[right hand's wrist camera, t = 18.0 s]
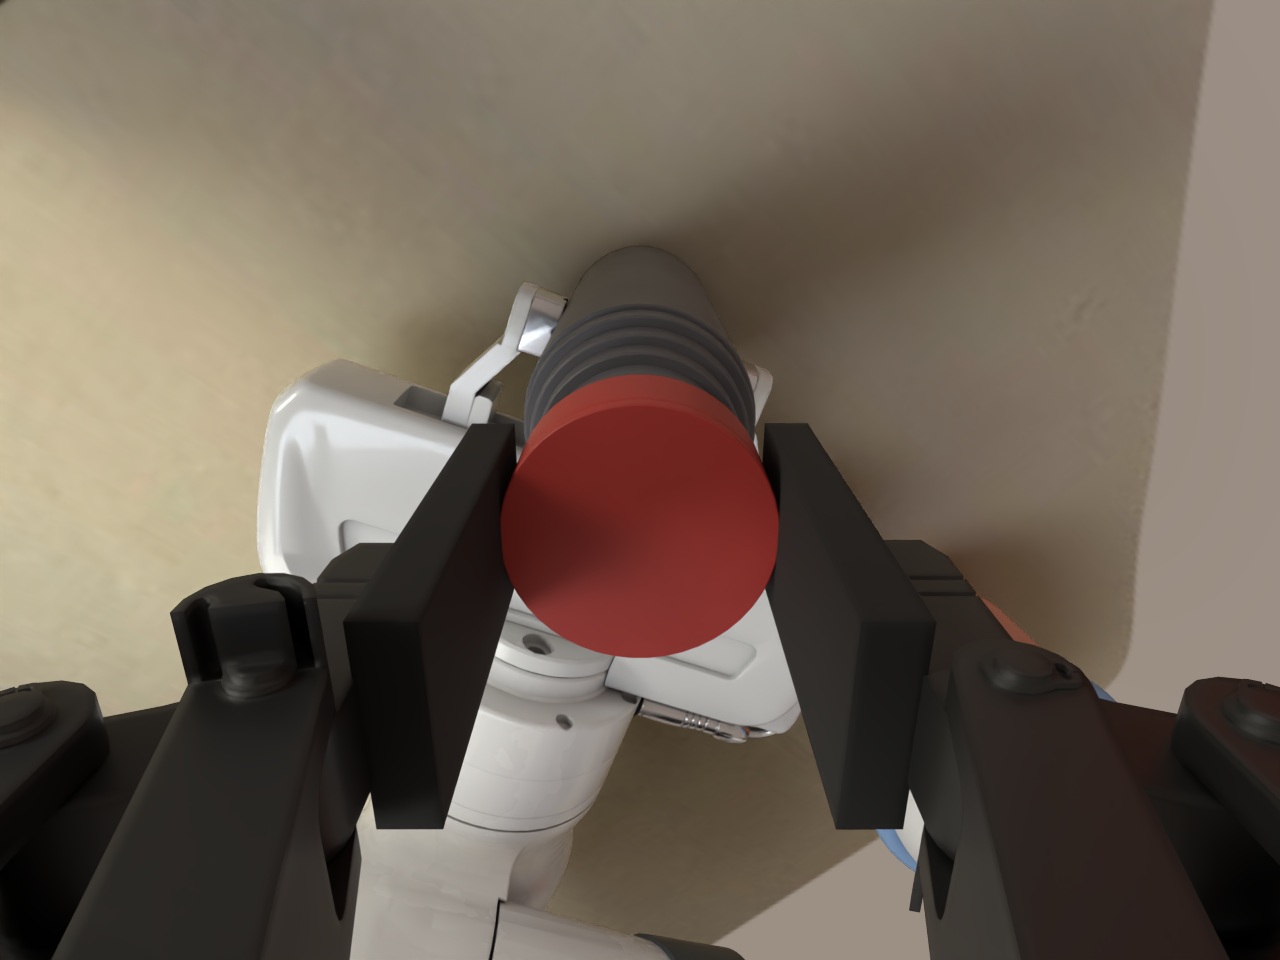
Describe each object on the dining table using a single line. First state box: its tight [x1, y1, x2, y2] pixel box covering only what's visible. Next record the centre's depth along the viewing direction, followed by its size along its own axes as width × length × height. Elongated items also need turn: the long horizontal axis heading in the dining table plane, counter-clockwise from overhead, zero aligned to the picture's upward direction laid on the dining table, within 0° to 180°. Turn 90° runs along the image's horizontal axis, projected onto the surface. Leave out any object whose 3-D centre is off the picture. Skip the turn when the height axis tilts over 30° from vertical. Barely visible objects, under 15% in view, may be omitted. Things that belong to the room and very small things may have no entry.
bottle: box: [524, 246, 756, 443], centre depth 22 cm, size 5×5×19 cm
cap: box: [500, 375, 779, 658], centre depth 13 cm, size 4×4×2 cm
